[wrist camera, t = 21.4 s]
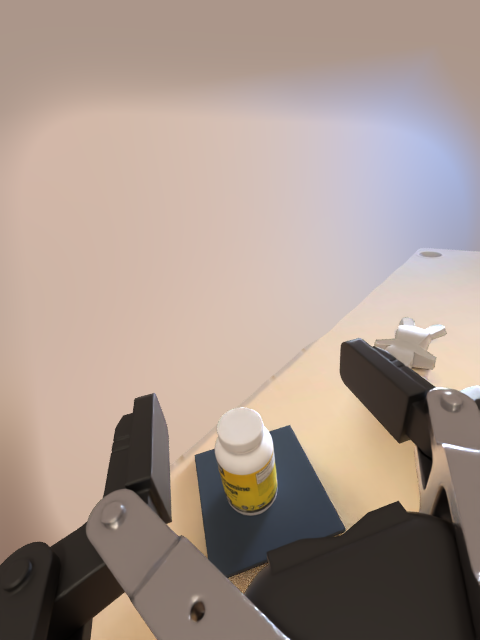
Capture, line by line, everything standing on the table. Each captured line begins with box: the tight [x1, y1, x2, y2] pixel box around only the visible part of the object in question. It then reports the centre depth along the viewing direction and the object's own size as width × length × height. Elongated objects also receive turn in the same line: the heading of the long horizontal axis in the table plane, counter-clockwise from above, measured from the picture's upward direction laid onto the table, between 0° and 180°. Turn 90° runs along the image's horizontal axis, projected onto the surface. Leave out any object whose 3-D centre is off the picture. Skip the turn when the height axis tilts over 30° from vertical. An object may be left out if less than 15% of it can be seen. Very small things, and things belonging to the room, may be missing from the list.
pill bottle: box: [215, 407, 278, 516], centre depth 31 cm, size 6×6×11 cm
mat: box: [195, 425, 345, 578], centre depth 34 cm, size 14×14×1 cm
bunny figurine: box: [374, 317, 447, 370], centre depth 50 cm, size 10×5×15 cm
